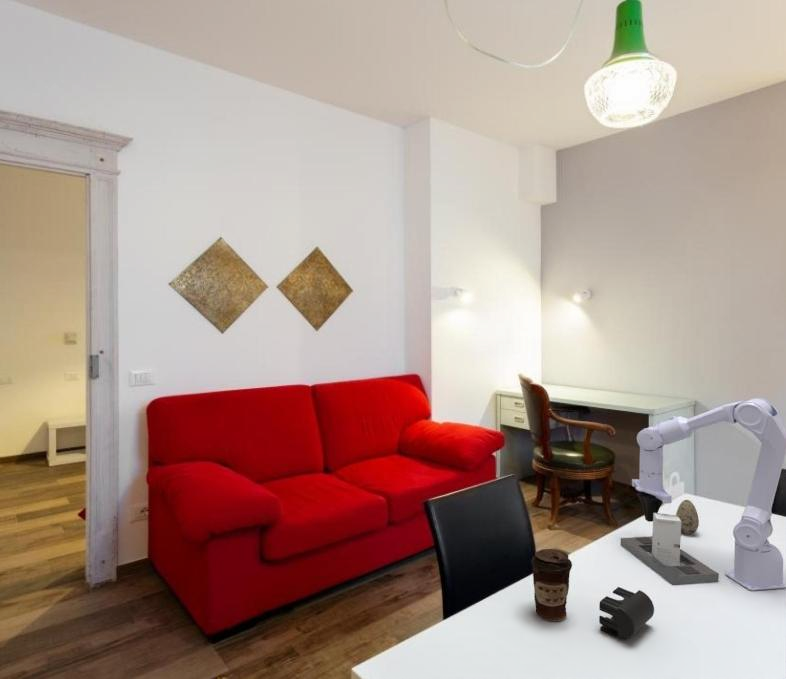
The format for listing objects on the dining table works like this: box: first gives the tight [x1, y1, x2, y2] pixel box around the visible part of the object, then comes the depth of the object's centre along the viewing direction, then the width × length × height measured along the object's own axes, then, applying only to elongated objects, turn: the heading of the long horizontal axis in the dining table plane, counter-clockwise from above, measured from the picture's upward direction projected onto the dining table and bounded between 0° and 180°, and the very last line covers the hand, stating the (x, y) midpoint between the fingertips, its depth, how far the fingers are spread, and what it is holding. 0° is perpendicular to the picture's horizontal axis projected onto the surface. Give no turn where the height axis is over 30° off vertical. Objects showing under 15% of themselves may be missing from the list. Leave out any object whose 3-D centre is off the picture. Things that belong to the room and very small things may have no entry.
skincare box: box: [651, 512, 682, 566], centre depth 134 cm, size 6×4×12 cm
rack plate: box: [620, 535, 720, 586], centre depth 135 cm, size 12×22×2 cm, turn 7°
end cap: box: [598, 586, 655, 641], centre depth 105 cm, size 10×7×7 cm
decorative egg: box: [675, 499, 700, 535], centre depth 153 cm, size 6×6×10 cm
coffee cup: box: [530, 548, 573, 622], centre depth 110 cm, size 9×8×13 cm
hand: (650, 520), depth 141 cm, fingers closed
